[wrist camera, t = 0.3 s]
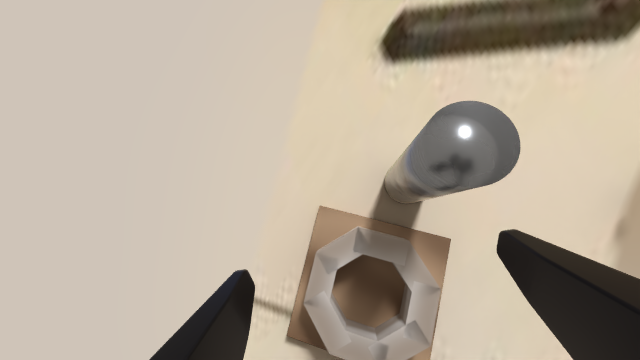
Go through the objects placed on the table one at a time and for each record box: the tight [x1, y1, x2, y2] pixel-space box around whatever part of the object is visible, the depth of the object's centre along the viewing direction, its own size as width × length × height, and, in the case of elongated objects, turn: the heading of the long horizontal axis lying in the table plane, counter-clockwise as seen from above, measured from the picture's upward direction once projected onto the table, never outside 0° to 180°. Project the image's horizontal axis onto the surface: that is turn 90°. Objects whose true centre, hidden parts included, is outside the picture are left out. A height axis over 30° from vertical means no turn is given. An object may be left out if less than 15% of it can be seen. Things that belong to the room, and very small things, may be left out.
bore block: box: [287, 206, 451, 360], centre depth 19 cm, size 12×12×3 cm
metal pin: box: [385, 101, 520, 204], centre depth 16 cm, size 4×4×12 cm
